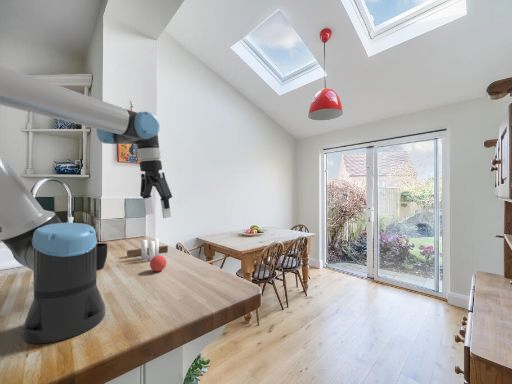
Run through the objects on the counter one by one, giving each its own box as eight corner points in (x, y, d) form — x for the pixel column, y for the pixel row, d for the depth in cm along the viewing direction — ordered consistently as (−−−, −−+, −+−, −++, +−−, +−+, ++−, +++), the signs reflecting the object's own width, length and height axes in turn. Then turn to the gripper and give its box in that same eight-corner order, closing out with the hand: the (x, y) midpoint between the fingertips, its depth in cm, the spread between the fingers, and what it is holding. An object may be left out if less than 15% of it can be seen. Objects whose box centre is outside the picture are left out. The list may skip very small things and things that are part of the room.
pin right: (159, 257, 110) (159, 239, 110) (153, 258, 109) (153, 239, 109) (158, 256, 113) (158, 238, 112) (152, 256, 111) (152, 239, 111)
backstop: (167, 252, 120) (167, 246, 120) (127, 257, 110) (127, 251, 110) (166, 251, 121) (166, 245, 121) (127, 256, 112) (127, 250, 112)
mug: (107, 262, 104) (106, 240, 103) (107, 269, 94) (107, 246, 94) (84, 265, 99) (83, 242, 99) (82, 273, 89) (82, 248, 89)
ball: (167, 271, 91) (167, 256, 91) (151, 274, 88) (151, 258, 88) (164, 267, 97) (164, 252, 96) (148, 270, 93) (148, 254, 93)
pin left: (147, 259, 108) (147, 240, 108) (141, 259, 107) (141, 241, 106) (146, 257, 110) (146, 239, 110) (141, 258, 109) (141, 240, 108)
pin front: (155, 260, 106) (155, 241, 105) (149, 261, 104) (149, 242, 104) (154, 259, 108) (154, 240, 107) (148, 260, 106) (148, 241, 106)
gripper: (177, 157, 83) (184, 216, 85) (145, 161, 99) (152, 210, 102) (156, 158, 77) (165, 221, 80) (126, 162, 93) (134, 214, 96)
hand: (158, 215), depth 91 cm, fingers open, 13 cm apart
